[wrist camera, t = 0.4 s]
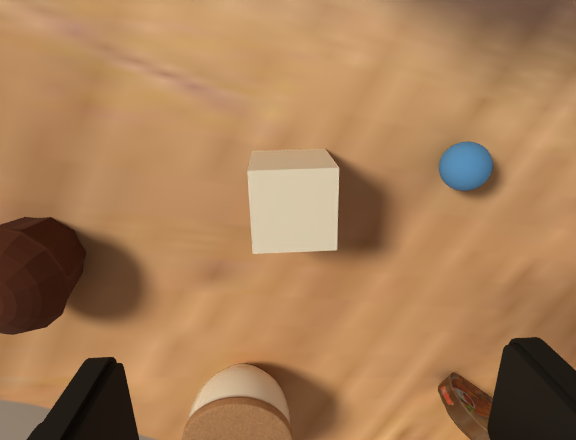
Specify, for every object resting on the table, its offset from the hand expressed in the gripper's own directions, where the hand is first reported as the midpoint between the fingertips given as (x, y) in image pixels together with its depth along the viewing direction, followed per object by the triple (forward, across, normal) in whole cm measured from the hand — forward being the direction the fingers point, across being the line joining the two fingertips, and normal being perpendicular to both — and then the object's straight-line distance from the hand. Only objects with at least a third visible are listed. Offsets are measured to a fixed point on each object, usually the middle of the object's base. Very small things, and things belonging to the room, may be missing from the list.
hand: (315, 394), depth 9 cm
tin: (+34, -26, +35) cm, 55 cm away
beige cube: (+32, -1, +3) cm, 32 cm away
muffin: (+33, +27, +10) cm, 44 cm away
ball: (+30, -19, +1) cm, 35 cm away
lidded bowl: (+33, +6, +31) cm, 46 cm away
